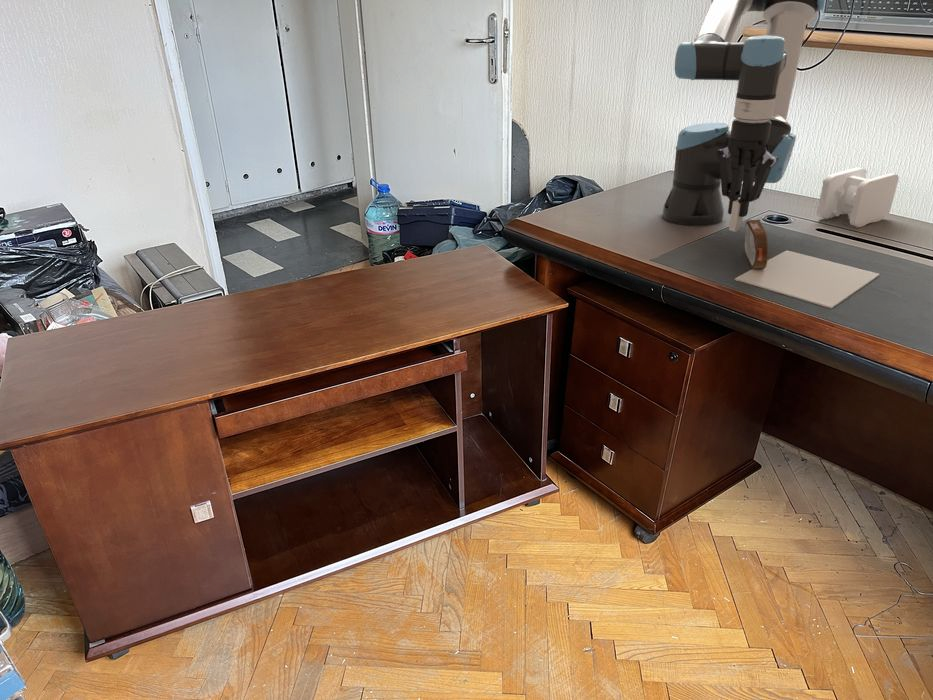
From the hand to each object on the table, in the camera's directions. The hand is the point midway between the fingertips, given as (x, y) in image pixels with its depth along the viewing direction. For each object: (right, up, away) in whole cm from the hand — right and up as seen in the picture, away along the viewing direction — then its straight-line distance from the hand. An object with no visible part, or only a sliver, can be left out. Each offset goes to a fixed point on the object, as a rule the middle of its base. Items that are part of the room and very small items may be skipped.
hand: (735, 229), depth 151 cm
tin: (+4, -7, 0) cm, 8 cm away
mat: (+12, -12, -8) cm, 19 cm away
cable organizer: (+37, +6, +21) cm, 43 cm away
